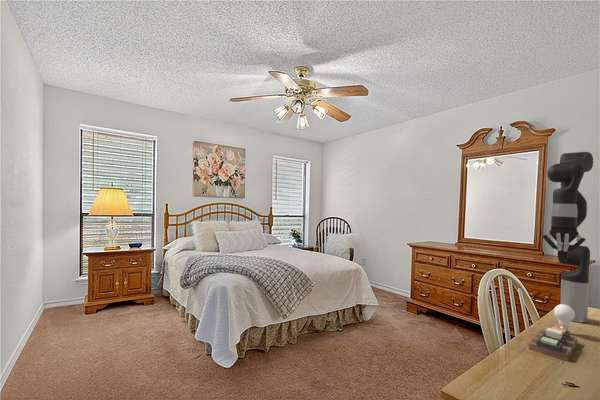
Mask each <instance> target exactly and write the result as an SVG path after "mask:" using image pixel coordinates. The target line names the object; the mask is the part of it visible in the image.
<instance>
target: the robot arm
mask: <svg viewBox="0 0 600 400" xmlns="http://www.w3.org/2000/svg"><path fill="white" fill-rule="evenodd" d="M593 167H594V157H593V154H592V153H591V152H590V151H589V152H588V151H578V152H576V151H575V152H566V153H562V154H561V155H560V158H559V163H554V164H552V165H550V167H548V170H547V178H548V180H549V181H551V182H552V183H560V188H556V189H554V190H553V192H552V207H551V213H550V215H551V217H550V218H551V221H550V222H551V223H550V229H549V231H548V233H546V234H543V235H542V238H543V239H544V241H545V242H546V243H548V245H549V246H550V247H551V249H553V250H557V260H558V263H559V264H561V265H568V266H575V267H578V269H576V270H573V271H565V272H562V273H561V274H560V277H561V279H560V304H565V305H568V306H570V307H571V308H572V309H573V310H574V312H575V317H574V319H573V320H572V321H571V322H576V323H582V322H585V323H588V321H589V319H588V317H589V316H588V315H589V283H590V282H589V274H590V273H589V272H590V263H591V262H590V261H591V250H590V248H589V247H588V246H586V245H585V246H584V245H582V244H583V243H584V242H585V241H586V238H585V237H583V236H582V235H580V234H579V232H578V228H579V227H580V225H582V224H583V222H584V221H585V220H586V218H587V214H588V202H587V200H586V198H585V197H584V195H583V194H582V193H581V192H580V191H579V187H580V184H581V181H582V179H583V177H584V174H585V173H587V172H590V171H591V170H592V169H593ZM552 238H553V239H554V241H556V243H555V242H554V241H553V240H552ZM575 239H576V240H575ZM574 240H575V241H576V242H575V243H574V244H570V243H572V242H573V241H574ZM556 244H557V245H556ZM560 304H559V305H560Z"/></svg>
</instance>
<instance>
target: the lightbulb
mask: <svg viewBox="0 0 600 400" xmlns="http://www.w3.org/2000/svg"><path fill="white" fill-rule="evenodd" d="M553 313H554V315H555V317H556V318H557V321H558V324H559V325H558V326H559V328H562V329H566V331H569V327H570V324H571V322H573V321H572V320H573V319H574V317H575V312H574V310H573V309H572V308H571V307H570V306H568V305H565V304H557V305H556V306H555V307H554V309H553Z"/></svg>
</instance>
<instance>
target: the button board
mask: <svg viewBox="0 0 600 400" xmlns="http://www.w3.org/2000/svg"><path fill="white" fill-rule="evenodd" d="M551 327H552V326H549V328H551ZM542 337H547V338H550V339H554V340H557V341H558V346H557V347H556V346H553V345H550V344H546V343H543V342H541V339H542ZM577 345H578V337H574V336H572V335H571V331H569V330H568V331H566V335H565V334H563V337H562V338H561V340H560V339H556V338H552V337H549V336H546V328H542V329H541V330H540V331H539V332H538V333H537V334H536V335H535V336H534V337H533V339H531V341H530V342H529V343H528V350H531V351H534V352H538V353H541V354H544V355H547V356H551V357H554V358H557V359H560V360H563V361H566V362H568V361H569V359H570V357H571V356H572V354H573V352H574V350H575V348H576V346H577Z"/></svg>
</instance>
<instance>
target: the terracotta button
mask: <svg viewBox="0 0 600 400" xmlns="http://www.w3.org/2000/svg"><path fill="white" fill-rule="evenodd" d="M550 327H551V328H553V329H556V330H560V331H563V334H565V335H566V329H562V328H560V327H557V326H553V325H552V326H550Z"/></svg>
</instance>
